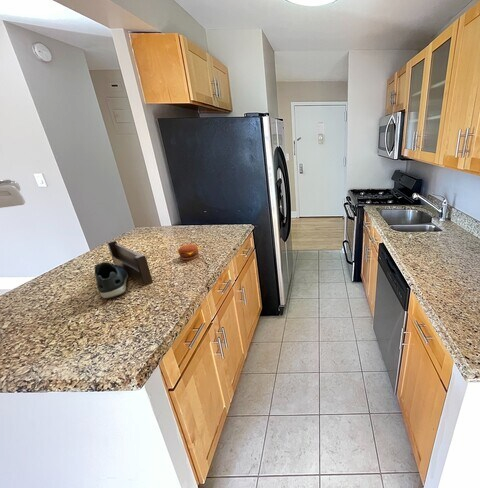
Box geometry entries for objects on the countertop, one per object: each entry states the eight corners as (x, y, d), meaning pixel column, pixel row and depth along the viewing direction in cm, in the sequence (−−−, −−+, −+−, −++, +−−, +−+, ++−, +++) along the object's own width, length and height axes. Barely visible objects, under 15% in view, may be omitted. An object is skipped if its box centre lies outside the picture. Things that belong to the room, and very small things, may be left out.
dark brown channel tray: (145, 285, 111) (136, 258, 106) (115, 266, 128) (106, 242, 123) (153, 282, 113) (145, 255, 108) (122, 264, 130) (114, 240, 125)
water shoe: (125, 268, 125) (118, 246, 121) (135, 293, 105) (127, 268, 101) (97, 276, 119) (88, 253, 114) (102, 303, 99) (92, 277, 94)
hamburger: (187, 252, 143) (185, 241, 140) (203, 254, 141) (201, 242, 139) (175, 260, 134) (172, 248, 132) (191, 261, 132) (189, 249, 130)
